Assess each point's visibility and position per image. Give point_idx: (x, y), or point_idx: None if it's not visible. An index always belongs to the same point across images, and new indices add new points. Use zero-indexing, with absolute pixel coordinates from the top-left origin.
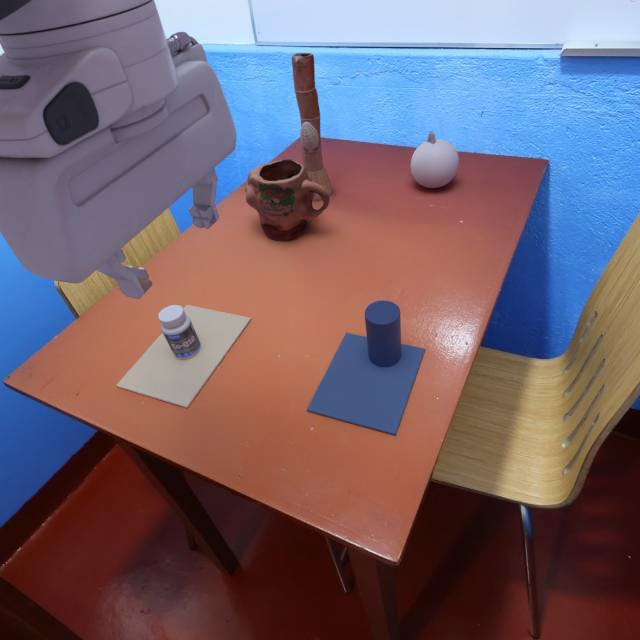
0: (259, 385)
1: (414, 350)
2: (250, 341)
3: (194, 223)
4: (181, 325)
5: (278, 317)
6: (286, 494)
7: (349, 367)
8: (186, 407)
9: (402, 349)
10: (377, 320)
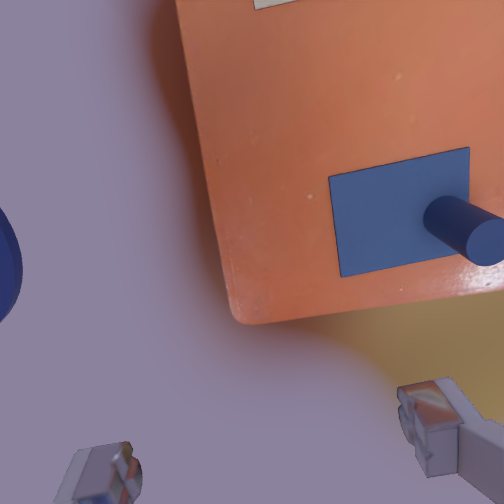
0: (338, 88)
1: None
2: (411, 4)
3: (402, 392)
4: None
5: (478, 13)
6: (229, 220)
7: (410, 187)
8: (255, 8)
9: None
10: (473, 245)
